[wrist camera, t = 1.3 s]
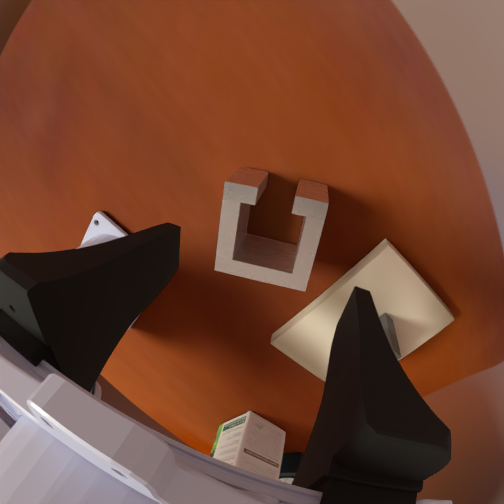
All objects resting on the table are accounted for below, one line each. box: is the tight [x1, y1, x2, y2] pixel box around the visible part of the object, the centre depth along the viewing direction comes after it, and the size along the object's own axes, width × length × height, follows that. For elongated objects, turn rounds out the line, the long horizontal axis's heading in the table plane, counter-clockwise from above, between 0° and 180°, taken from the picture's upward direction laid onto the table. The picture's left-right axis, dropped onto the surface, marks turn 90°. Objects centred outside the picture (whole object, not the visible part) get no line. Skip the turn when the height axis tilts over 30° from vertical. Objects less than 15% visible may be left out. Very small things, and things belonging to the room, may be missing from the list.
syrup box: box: [210, 411, 286, 481], centre depth 27 cm, size 6×6×14 cm
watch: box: [278, 452, 303, 484], centre depth 31 cm, size 6×8×11 cm
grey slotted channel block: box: [215, 167, 329, 292], centre depth 20 cm, size 6×6×4 cm
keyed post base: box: [270, 238, 455, 382], centre depth 22 cm, size 12×9×5 cm
